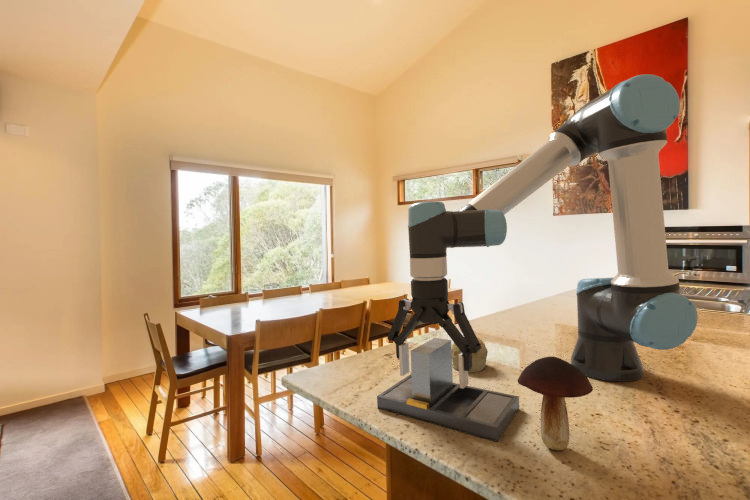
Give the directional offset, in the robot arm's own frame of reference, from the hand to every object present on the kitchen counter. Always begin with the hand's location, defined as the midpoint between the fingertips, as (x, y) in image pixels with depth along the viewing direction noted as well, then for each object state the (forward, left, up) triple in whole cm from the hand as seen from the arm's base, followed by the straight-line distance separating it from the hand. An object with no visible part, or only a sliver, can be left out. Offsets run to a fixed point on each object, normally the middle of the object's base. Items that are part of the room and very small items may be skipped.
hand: (432, 379), depth 78 cm
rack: (-3, 0, -5) cm, 6 cm away
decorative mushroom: (-24, +4, -6) cm, 25 cm away
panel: (0, 0, -5) cm, 5 cm away
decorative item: (+2, -25, -6) cm, 26 cm away
